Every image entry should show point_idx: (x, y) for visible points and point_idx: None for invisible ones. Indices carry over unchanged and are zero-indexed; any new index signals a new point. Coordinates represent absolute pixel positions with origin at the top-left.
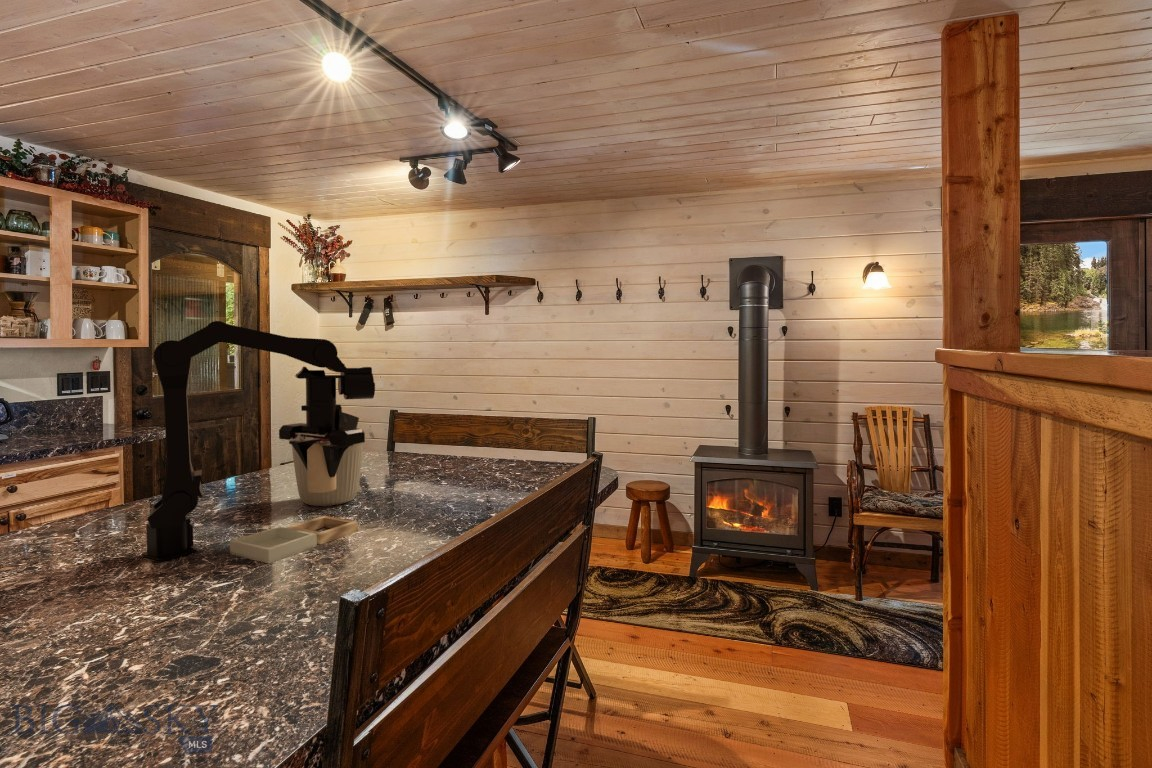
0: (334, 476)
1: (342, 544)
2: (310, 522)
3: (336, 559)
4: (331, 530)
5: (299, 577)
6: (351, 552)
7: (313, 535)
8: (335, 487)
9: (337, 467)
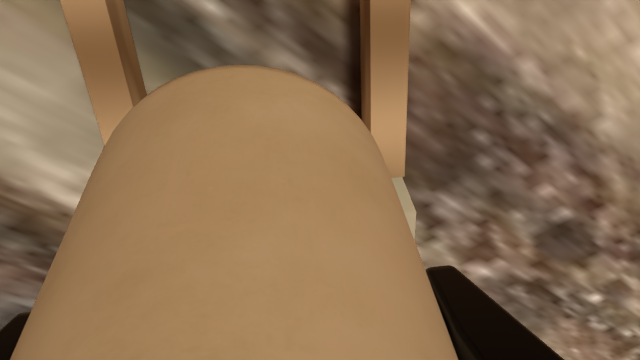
0: (449, 268)
1: (491, 89)
2: (120, 58)
3: (598, 218)
4: (402, 103)
5: (584, 353)
6: (608, 138)
7: (413, 225)
8: (375, 141)
9: (540, 351)
